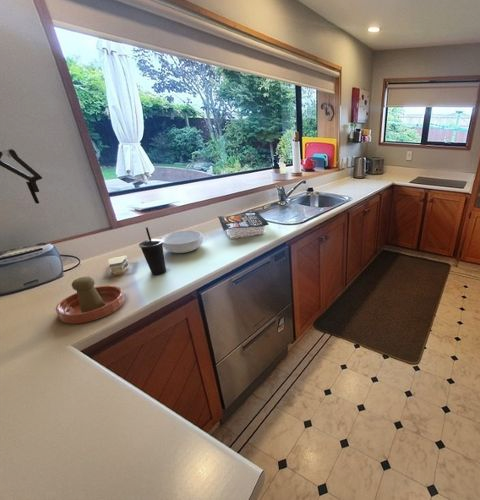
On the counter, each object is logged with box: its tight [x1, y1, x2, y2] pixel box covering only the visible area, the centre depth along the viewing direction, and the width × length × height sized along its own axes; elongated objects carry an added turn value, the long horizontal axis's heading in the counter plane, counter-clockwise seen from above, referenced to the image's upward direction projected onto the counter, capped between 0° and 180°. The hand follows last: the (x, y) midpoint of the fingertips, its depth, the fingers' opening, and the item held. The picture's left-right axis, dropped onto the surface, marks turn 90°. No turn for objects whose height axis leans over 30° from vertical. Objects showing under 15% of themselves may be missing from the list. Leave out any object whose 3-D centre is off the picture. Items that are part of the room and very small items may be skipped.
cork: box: [71, 276, 105, 313], centre depth 89 cm, size 6×6×11 cm
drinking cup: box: [138, 226, 167, 276], centre depth 110 cm, size 8×8×20 cm
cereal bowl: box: [160, 230, 204, 254], centre depth 133 cm, size 17×17×7 cm
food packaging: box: [217, 211, 270, 240], centre depth 157 cm, size 25×8×23 cm
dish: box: [55, 285, 126, 325], centre depth 91 cm, size 16×16×4 cm
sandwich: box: [107, 255, 130, 276], centre depth 113 cm, size 10×9×6 cm
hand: (5, 206), depth 86 cm, fingers open, 13 cm apart
